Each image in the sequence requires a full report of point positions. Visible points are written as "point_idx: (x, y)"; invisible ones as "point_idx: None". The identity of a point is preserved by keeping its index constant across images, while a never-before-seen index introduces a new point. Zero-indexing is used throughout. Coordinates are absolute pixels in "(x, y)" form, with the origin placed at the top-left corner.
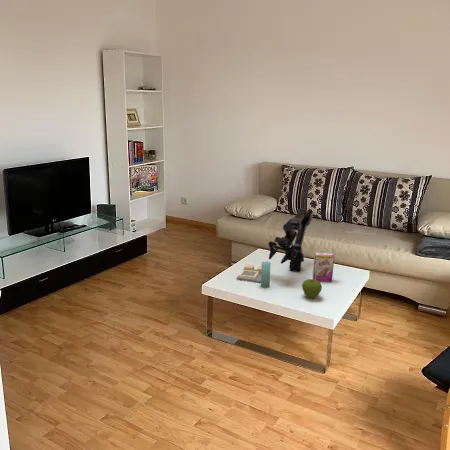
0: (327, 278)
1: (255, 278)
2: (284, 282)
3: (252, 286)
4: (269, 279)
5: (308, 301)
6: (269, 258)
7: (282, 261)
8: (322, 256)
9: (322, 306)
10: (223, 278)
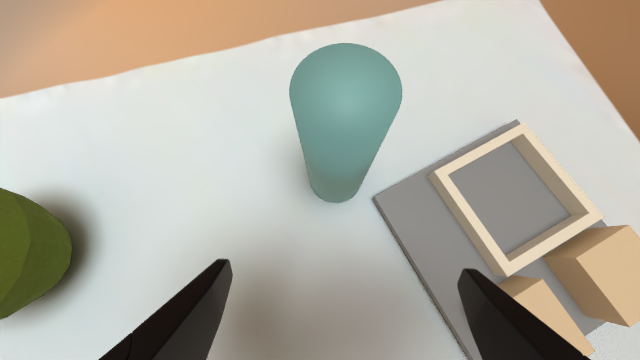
0: None
1: (438, 191)
2: (290, 320)
3: None
4: (307, 170)
5: (40, 195)
6: (464, 275)
7: (197, 279)
8: None
9: None
10: (564, 87)
